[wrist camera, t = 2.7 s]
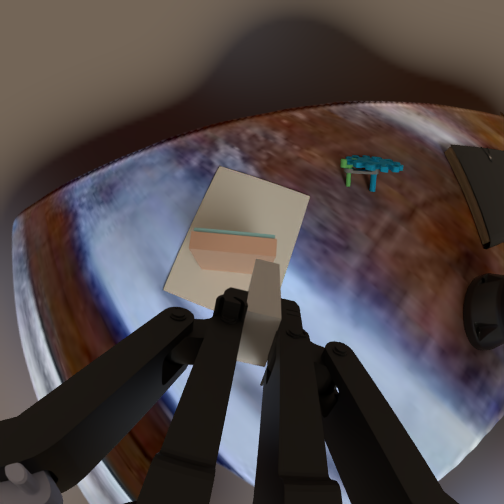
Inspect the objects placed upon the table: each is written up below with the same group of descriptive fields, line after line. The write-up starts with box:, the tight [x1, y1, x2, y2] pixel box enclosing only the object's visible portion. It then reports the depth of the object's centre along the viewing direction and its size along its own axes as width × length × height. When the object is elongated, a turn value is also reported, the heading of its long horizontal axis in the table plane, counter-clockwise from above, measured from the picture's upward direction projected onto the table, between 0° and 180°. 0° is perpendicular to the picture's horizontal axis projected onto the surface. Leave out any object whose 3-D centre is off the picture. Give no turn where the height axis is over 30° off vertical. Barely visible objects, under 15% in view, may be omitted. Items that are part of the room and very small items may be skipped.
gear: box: [340, 155, 403, 192], centre depth 41 cm, size 11×6×10 cm
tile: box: [189, 228, 277, 274], centre depth 33 cm, size 2×9×10 cm, turn 85°
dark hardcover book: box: [444, 145, 504, 249], centre depth 45 cm, size 33×4×24 cm
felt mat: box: [163, 166, 310, 311], centre depth 39 cm, size 15×21×1 cm
